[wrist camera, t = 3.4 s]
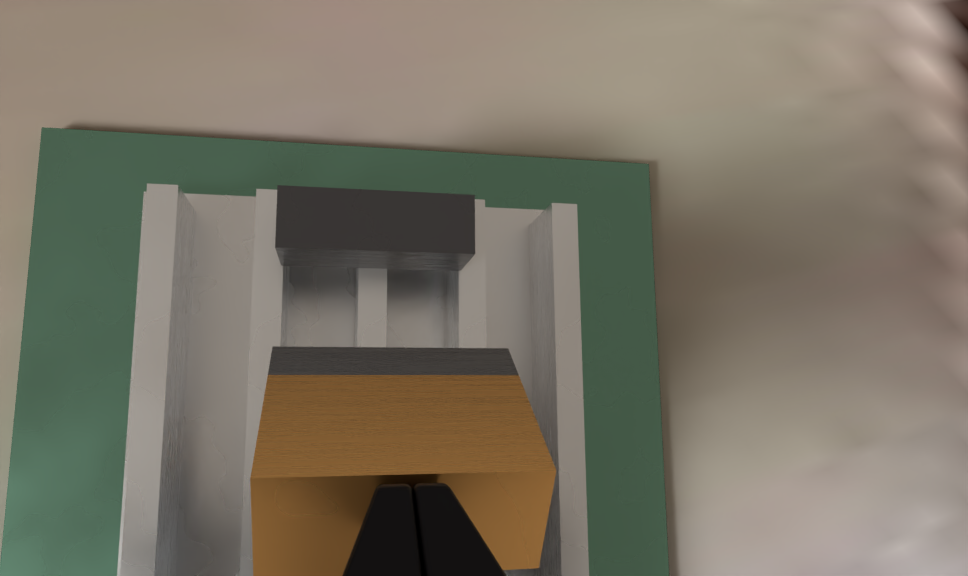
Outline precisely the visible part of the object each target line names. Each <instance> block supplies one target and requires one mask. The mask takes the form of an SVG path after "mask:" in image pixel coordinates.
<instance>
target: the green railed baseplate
mask: <svg viewBox="0 0 968 576" xmlns="http://www.w3.org/2000/svg"><path fill="white" fill-rule="evenodd" d="M273 346H280V347H405V348H508V349H509V352H510V354H511V357H512V359H513V362H514V364H515V367H516V369H517V372H518V374H519V377H520V379H521V382H522V385H523V387H524V390H525V392H526V395H527V397H528V400H529V402H530V405H531V407H532V410H533V412H534V415H535V418H536V420H537V423H538V425H539V428H540V430H541V433H542V435H543V438H544V440H545V443H546V446H547V448H548V451H549V453H550V456H551V458H552V461H553V463H554V466H555V468H556V475H555V481H554V486H553V492H552V497H551V503H550V509H549V514H548V520H547V525H546V531H545V536H544V542H543V547H542V553H541V558H540V564H539V568H534V569H515V570H503V571H504V573H505V574H506V576H669V563H668V543H667V523H666V503H665V483H664V463H663V442H662V422H661V402H660V382H659V362H658V342H657V322H656V302H655V282H654V262H653V242H652V221H651V201H650V181H649V164H641V163H625V162H608V161H592V160H575V159H558V158H542V157H525V156H508V155H492V154H475V153H459V152H442V151H425V150H409V149H392V148H375V147H359V146H342V145H326V144H309V143H292V142H276V141H259V140H243V139H226V138H209V137H193V136H176V135H159V134H143V133H126V132H110V131H93V130H76V129H60V128H43V127H42V132H41V142H40V153H39V163H38V174H37V184H36V195H35V205H34V216H33V226H32V237H31V247H30V258H29V268H28V279H27V289H26V300H25V310H24V321H23V331H22V342H21V352H20V362H19V373H18V383H17V394H16V404H15V415H14V425H13V436H12V446H11V457H10V467H9V478H8V488H7V499H6V509H5V520H4V530H3V541H2V551H1V562H0V576H253V551H252V519H251V487H250V477H251V471H252V465H253V459H254V453H255V447H256V441H257V435H258V430H259V424H260V418H261V412H262V406H263V400H264V394H265V388H266V382H267V376H268V371H269V365H270V359H271V353H272V347H273Z"/></svg>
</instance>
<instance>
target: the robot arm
mask: <svg viewBox="0 0 968 576" xmlns="http://www.w3.org/2000/svg"><path fill="white" fill-rule="evenodd" d="M342 576H506V574H505V573H504V571H503V569H502V568H501V566H500V565H499V563H498V562H497V560H496V558H495V557H494V555H493V554H492V552H491V551H490V549H489V547H488V546H487V544H486V543H485V541H484V540H483V538H482V536H481V535H480V533H479V532H478V530H477V529H476V527H475V525H474V524H473V522H472V521H471V519H470V518H469V516H468V514H467V513H466V511H465V510H464V508H463V507H462V505H461V504H460V502H459V500H458V499H457V497H456V496H455V494H454V493H453V491H452V490H451V488H450V487H449V486H448V485H447V484H445V483H418V484H415V485H414V486H413V488H411V486H410V485H408V484H381V485H379V486H377V488H376V489H375V491H374V494H373V496H372V499H371V501H370V504H369V507H368V509H367V512H366V515H365V517H364V520H363V522H362V525H361V528H360V530H359V533H358V536H357V538H356V541H355V543H354V546H353V549H352V551H351V554H350V557H349V559H348V562H347V564H346V567H345V570H344V572H343V575H342Z"/></svg>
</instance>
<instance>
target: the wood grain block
mask: <svg viewBox="0 0 968 576" xmlns="http://www.w3.org/2000/svg"><path fill="white" fill-rule="evenodd" d="M555 475H556V468H555V466H554V463H553V461H552V458H551V456H550V453H549V451H548V448H547V446H546V443H545V440H544V438H543V435H542V433H541V430H540V428H539V425H538V423H537V420H536V418H535V415H534V412H533V410H532V407H531V405H530V402H529V400H528V397H527V395H526V392H525V390H524V387H523V385H522V382H521V379H520V377H519V374H518V372H517V369H516V367H515V364H514V362H513V359H512V357H511V354H510V352H509V349H508V348H405V347H280V346H273V347H272V353H271V359H270V365H269V371H268V376H267V382H266V388H265V394H264V400H263V406H262V412H261V418H260V424H259V430H258V435H257V441H256V447H255V453H254V459H253V465H252V471H251V477H250V487H251V519H252V551H253V576H342V575H343V572H344V570H345V567H346V564H347V562H348V559H349V557H350V554H351V551H352V549H353V546H354V543H355V541H356V538H357V536H358V533H359V530H360V528H361V525H362V522H363V520H364V517H365V515H366V512H367V509H368V507H369V504H370V501H371V499H372V496H373V494H374V491H375V489H376V488H377V486H379V485H381V484H408V485H410V486H411V488H413V486H414V485H415V484H418V483H445V484H447V485H448V486H449V487H450V488H451V490H452V491H453V493H454V494H455V496H456V497H457V499H458V500H459V502H460V504H461V505H462V507H463V508H464V510H465V511H466V513H467V514H468V516H469V518H470V519H471V521H472V522H473V524H474V525H475V527H476V529H477V530H478V532H479V533H480V535H481V536H482V538H483V540H484V541H485V543H486V544H487V546H488V547H489V549H490V551H491V552H492V554H493V555H494V557H495V558H496V560H497V562H498V563H499V565H500V566H501V568H502V569H503V570H515V569H534V568H539V564H540V558H541V553H542V547H543V542H544V536H545V531H546V525H547V520H548V514H549V509H550V503H551V497H552V492H553V486H554V481H555Z"/></svg>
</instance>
